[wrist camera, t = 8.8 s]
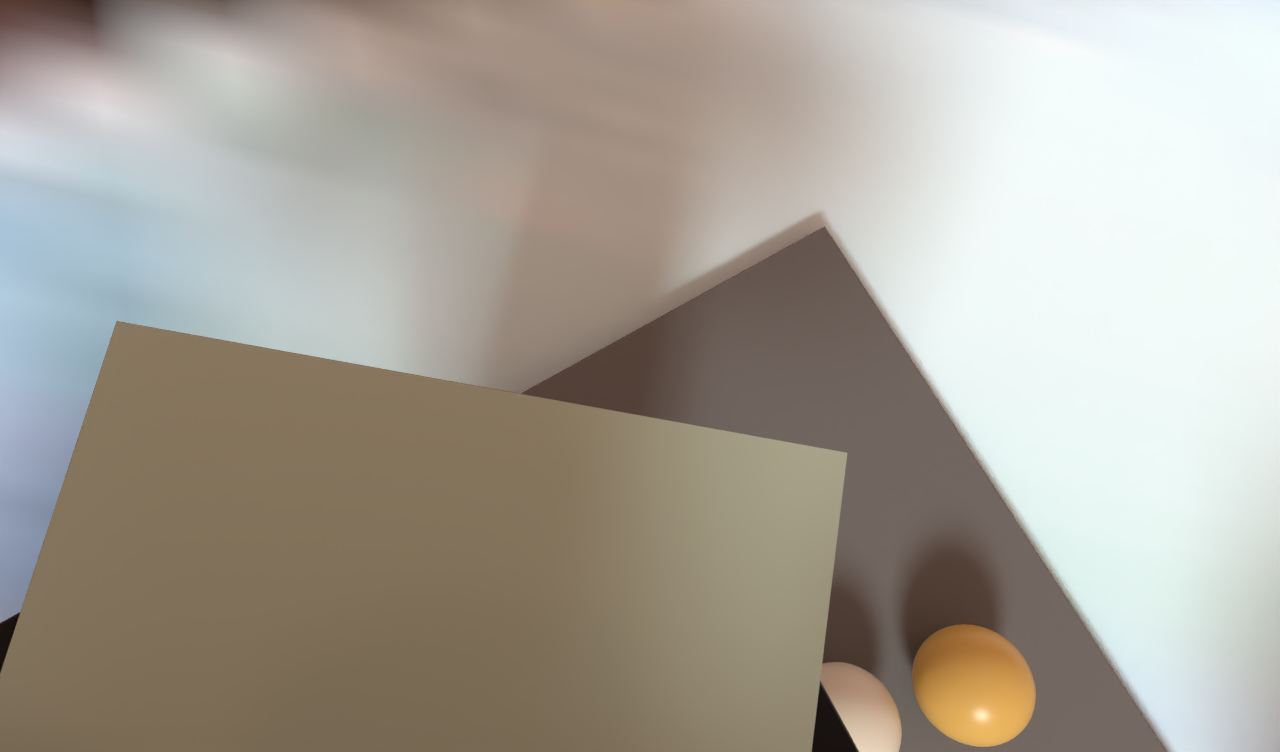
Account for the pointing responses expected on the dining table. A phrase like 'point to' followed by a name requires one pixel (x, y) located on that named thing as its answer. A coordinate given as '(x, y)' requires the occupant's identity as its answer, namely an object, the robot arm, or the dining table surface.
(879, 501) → the mat
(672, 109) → the dining table surface
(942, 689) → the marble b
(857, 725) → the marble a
